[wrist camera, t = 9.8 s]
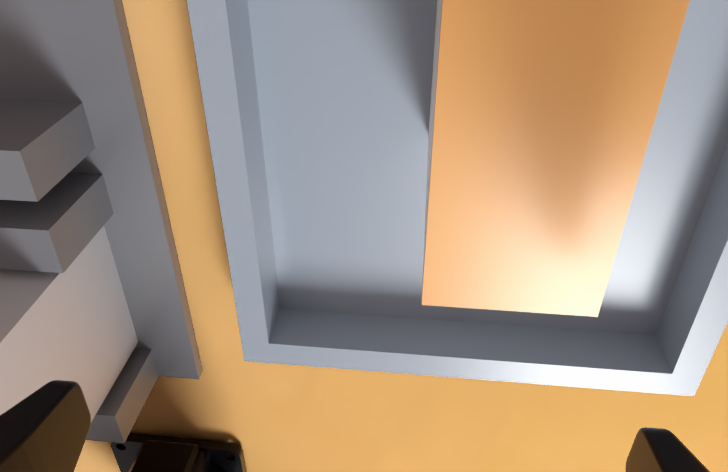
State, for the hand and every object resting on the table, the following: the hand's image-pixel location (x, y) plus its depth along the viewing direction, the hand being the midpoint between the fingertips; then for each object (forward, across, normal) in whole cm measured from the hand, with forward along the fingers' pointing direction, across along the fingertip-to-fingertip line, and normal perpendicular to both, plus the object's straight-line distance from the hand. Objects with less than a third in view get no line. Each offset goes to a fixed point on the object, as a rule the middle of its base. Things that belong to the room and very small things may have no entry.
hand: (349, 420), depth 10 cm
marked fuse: (+11, -3, -3) cm, 12 cm away
